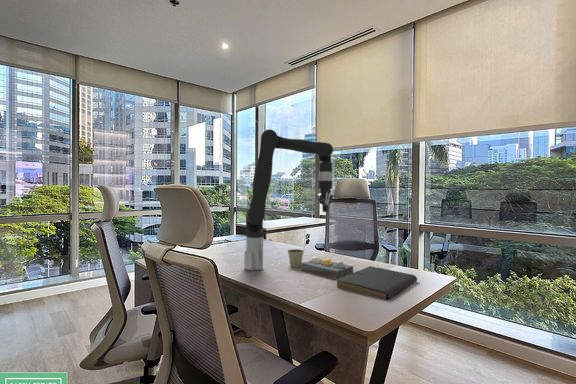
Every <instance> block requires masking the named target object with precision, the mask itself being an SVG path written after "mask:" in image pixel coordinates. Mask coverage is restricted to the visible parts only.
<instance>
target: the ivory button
mask: <svg viewBox="0 0 576 384" xmlns="http://www.w3.org/2000/svg"><path fill="white" fill-rule="evenodd" d="M319 259H320V256H312V257H311V260H312V263H315V264H317V263H319Z"/></svg>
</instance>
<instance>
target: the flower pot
mask: <svg viewBox="0 0 576 384" xmlns="http://www.w3.org/2000/svg"><path fill="white" fill-rule="evenodd" d="M304 253H305V250H304V249H295V248H294V249H288V250H287V254H288V259H289V266H290V267H292V268H299V267H300V268H301V263H303V255H304Z"/></svg>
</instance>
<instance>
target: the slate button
mask: <svg viewBox="0 0 576 384" xmlns="http://www.w3.org/2000/svg"><path fill="white" fill-rule="evenodd" d="M343 264H344V261H341V260H340V261H339V260H337V261H335V268H338V269H342V268H343Z"/></svg>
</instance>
